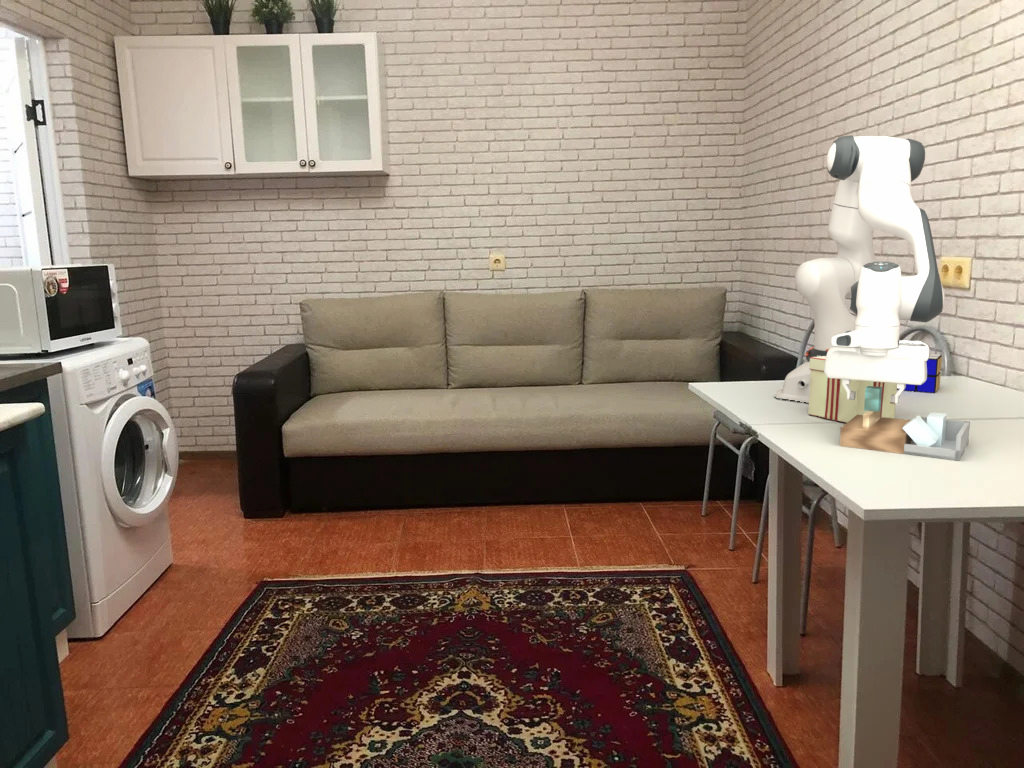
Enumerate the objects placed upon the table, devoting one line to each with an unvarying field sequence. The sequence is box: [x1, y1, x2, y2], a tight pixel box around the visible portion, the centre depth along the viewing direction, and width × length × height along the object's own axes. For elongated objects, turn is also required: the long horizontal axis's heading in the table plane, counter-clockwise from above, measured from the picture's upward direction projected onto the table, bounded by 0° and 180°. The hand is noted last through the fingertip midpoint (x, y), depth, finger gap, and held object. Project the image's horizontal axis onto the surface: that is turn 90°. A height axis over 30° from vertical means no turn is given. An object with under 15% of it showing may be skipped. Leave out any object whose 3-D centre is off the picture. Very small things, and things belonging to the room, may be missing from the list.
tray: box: [903, 416, 971, 461], centre depth 162 cm, size 10×15×5 cm, turn 144°
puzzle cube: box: [897, 353, 943, 394], centre depth 226 cm, size 10×10×10 cm
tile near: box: [903, 414, 939, 447], centre depth 161 cm, size 6×5×3 cm
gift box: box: [807, 348, 898, 424], centre depth 193 cm, size 17×18×17 cm
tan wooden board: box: [839, 415, 912, 455], centre depth 169 cm, size 12×15×4 cm
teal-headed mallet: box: [862, 386, 882, 429], centre depth 169 cm, size 3×12×8 cm, turn 144°
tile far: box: [926, 411, 948, 446], centre depth 165 cm, size 6×5×3 cm
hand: (872, 401), depth 169 cm, fingers open, 7 cm apart
